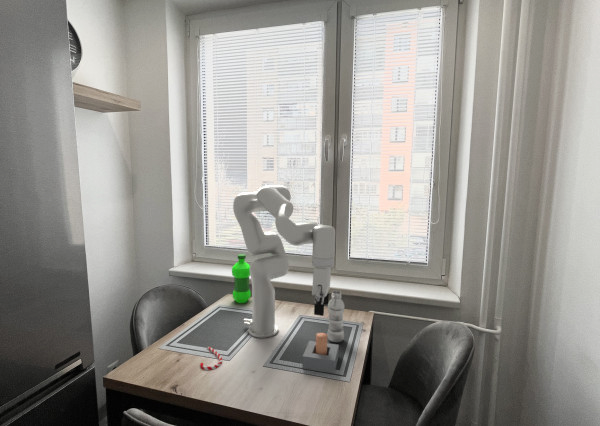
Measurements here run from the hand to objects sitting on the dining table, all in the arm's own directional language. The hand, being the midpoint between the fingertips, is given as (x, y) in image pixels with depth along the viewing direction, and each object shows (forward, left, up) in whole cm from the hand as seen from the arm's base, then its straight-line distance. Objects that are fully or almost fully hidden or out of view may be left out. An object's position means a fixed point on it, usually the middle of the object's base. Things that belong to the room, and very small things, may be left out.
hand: (321, 309), depth 113 cm
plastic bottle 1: (-51, +46, -20) cm, 71 cm away
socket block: (0, 0, -19) cm, 19 cm away
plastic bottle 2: (+3, +17, -20) cm, 26 cm away
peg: (0, 0, -19) cm, 19 cm away
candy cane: (-39, -8, -20) cm, 44 cm away
